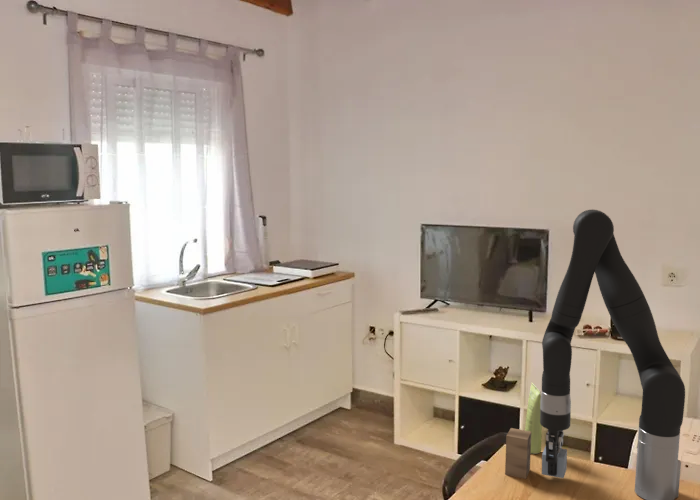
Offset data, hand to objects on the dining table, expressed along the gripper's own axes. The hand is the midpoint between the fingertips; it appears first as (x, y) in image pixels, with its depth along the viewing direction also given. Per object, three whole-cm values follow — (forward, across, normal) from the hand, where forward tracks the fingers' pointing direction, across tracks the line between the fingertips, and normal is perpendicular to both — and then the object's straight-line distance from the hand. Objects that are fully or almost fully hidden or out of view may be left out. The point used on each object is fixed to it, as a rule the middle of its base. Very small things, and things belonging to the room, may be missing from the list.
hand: (554, 469), depth 166 cm
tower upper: (-3, 0, +9) cm, 10 cm away
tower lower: (+3, 0, +10) cm, 10 cm away
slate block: (+1, 0, 0) cm, 1 cm away
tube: (+3, +15, +8) cm, 17 cm away
